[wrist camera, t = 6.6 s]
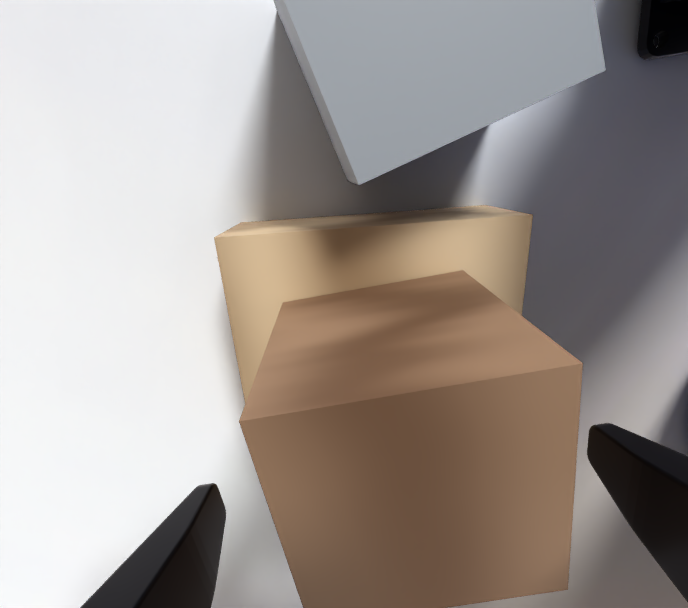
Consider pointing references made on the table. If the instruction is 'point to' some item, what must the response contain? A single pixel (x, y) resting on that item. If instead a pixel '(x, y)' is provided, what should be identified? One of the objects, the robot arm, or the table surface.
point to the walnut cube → (416, 446)
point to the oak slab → (361, 261)
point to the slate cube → (432, 68)
